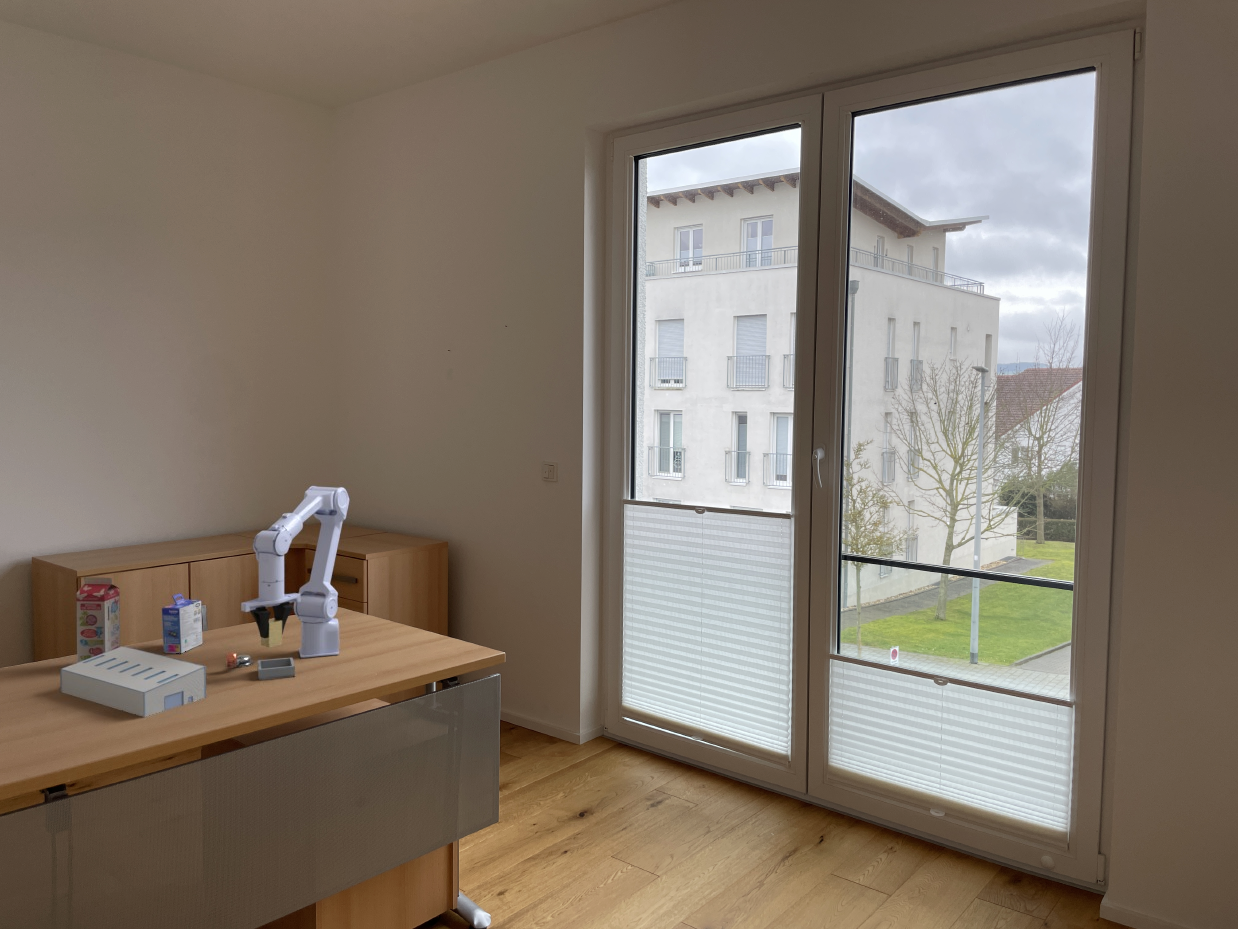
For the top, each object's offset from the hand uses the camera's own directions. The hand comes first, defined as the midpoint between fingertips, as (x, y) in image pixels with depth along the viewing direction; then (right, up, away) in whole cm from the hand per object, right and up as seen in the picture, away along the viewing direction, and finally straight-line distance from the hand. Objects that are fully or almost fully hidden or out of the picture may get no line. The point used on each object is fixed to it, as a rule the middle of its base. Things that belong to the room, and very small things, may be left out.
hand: (271, 635), depth 209 cm
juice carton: (-44, -8, +3) cm, 45 cm away
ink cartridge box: (-32, -8, +20) cm, 38 cm away
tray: (+1, -9, +1) cm, 9 cm away
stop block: (0, -2, 0) cm, 2 cm away
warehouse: (-24, -11, -17) cm, 31 cm away
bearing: (-11, -9, +8) cm, 16 cm away
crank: (-10, -8, +5) cm, 14 cm away
